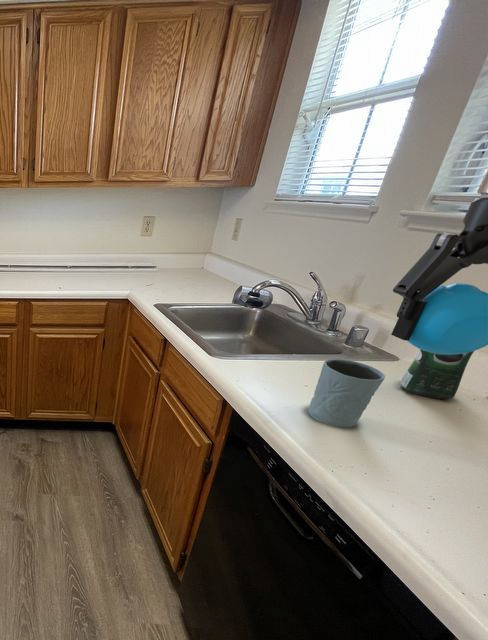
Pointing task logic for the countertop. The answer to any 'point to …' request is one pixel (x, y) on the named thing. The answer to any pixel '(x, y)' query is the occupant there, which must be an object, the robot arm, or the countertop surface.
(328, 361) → the grey embossed pot
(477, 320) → the blue rounded lump
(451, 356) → the coffee jar
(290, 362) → the countertop surface
